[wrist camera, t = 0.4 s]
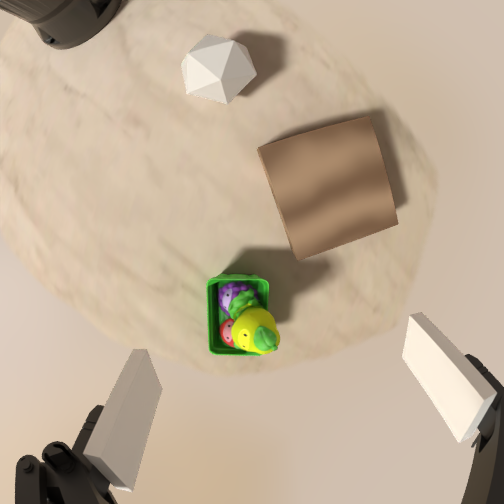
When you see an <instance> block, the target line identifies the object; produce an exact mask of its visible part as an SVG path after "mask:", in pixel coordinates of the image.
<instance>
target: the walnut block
mask: <svg viewBox="0 0 504 504" xmlns="http://www.w3.org/2000/svg"><path fill="white" fill-rule="evenodd" d="M257 151H258V154H259V157H260V160H261V162H262V165H263V168H264V171H265V173H266V176H267V179H268V182H269V185H270V188H271V190H272V193H273V196H274V199H275V202H276V205H277V208H278V210H279V213H280V216H281V219H282V222H283V225H284V228H285V231H286V234H287V237H288V240H289V243H290V246H291V249H292V251H293V253H294V255H295V257H296V259H297V261H299V260H302V259H305V258H307V257H310V256H313V255H316V254H319V253H321V252H324V251H327V250H330V249H333V248H335V247H338V246H341V245H344V244H346V243H349V242H352V241H355V240H357V239H360V238H363V237H366V236H368V235H371V234H374V233H376V232H379V231H382V230H384V229H387V228H390V227H392V226H395V225H398V219H397V214H396V210H395V205H394V201H393V196H392V192H391V188H390V184H389V180H388V176H387V172H386V168H385V165H384V161H383V158H382V154H381V151H380V147H379V144H378V141H377V138H376V135H375V132H374V128H373V125H372V123H371V120H370V117H369V116H366V117H362V118H358V119H354V120H350V121H346V122H342V123H338V124H334V125H330V126H326V127H323V128H319V129H316V130H312V131H309V132H305V133H302V134H298V135H295V136H292V137H289V138H285V139H282V140H279V141H276V142H273V143H270V144H267V145H264V146H261V147H258V149H257Z"/></svg>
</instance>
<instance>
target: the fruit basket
mask: <svg viewBox="0 0 504 504" xmlns="http://www.w3.org/2000/svg"><path fill="white" fill-rule="evenodd" d="M206 290H207V317H208V342H209V351H210V352H211V353H212V354H214V355H239V356H260V355H262V354H268V353H270V352H272V351H275V350H277V348H278V347H277V346H278V345H279V343H280V335H279V332H278V330H277V328H276V323H275V320H274V318H273V316H272V315H271V314H270V313H269V312H268V297H269V283H268V282H267V281H266V280H264V279H262V278H260V277H259V276H257V275H256V274H252V275H246V274H230V275H226V274H220V275H218V276H217V277H214V278H211V279H209V280H208V281H207V283H206Z"/></svg>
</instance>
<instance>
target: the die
mask: <svg viewBox="0 0 504 504" xmlns="http://www.w3.org/2000/svg"><path fill="white" fill-rule="evenodd" d="M181 68H182V73H183V78H184V83H185V89H186V94H190V95H194V96H198V97H202V98H206V99H209V100H213V101H217V102H220V103H224V104H227V105H228V104H229V103H230V102H231V101H232V100H233V99H234V97H235V96H236V95H237V94H238V93H239V92H240V91H241V90H242V89H243V88H244V87H245V86H246V85H247V84H248V83H249V82H250V81H251V80H252V79H253V78H254V77H255V76H256V75H257V73H256V70H255V68H254V65H253V63H252V60H251V57H250V55H249V52H248V50H247V47H246V46H244V45H242V44H240V43H238V42H236V41H234V40H230V39H226V38H222V37H218V36H213V35H208V34H207V35H206V36H205V37H204V38H203V39H202V40H201V41H200V42H199V43H197V44H196V45H195V46H194V47H193V48H192V49H191V50H190V51H189V52H188V53H187V55H186V57H185V58H184V60H183V62H182V64H181Z"/></svg>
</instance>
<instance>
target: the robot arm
mask: <svg viewBox="0 0 504 504" xmlns="http://www.w3.org/2000/svg"><path fill="white" fill-rule="evenodd" d="M120 3H121V0H0V9H1V10H4V11H6V12H8V13H10V14H13V15H14V16H17V17H19V18H21V19H23V20H25V21H27V22H29V23H31V24H32V25H33V27H34V28H35V30H36V32H37V33H38V35H39V36H40V38H41V39H42V41H43V42H44V43H45V44H47V45H49V46H51V47H53V48H55V49H69V48H72V47H75V46H78V45H80V44H82V43H83V42H85V41H87V40H88V39H90V38H91V37H93V36H94V35H95V34H97V33H98V32H99V31H100V30H101V29H102V28H103V27H104V26H105V25H106V24H107V23H108V22H109V21H110V19H111V18H112V17H113V15H114V14H115V12H116V11H117V9H118V7H119V5H120ZM402 358H403V359H404V361H405V362H406V364H407V365H408V366H409V368H410V369H411V371H412V372H413V374H414V375H415V377H416V378H417V379H418V381H419V382H420V384H421V385H422V387H423V388H424V390H425V391H426V393H427V394H428V396H429V397H430V399H431V400H432V402H433V403H434V405H435V406H436V408H437V409H438V411H439V413H440V414H441V415H442V417H443V419H444V420H445V422H446V423H447V425H448V427H449V428H450V430H451V431H452V433H453V435H454V436H455V438H456V439H457V441H458V443H460V442H462V441H464V440H466V439H468V438H470V437H472V435H473V434H474V432H475V431H476V429H477V428H478V429H479V431H480V433H479V435H478V436H477V438H476V439H475V441H474V442H473V444H472V446H471V447H474V445H475V444H476V443H477V444H476V449H475V454H474V459H473V464H472V468H471V472H470V476H469V479H468V483H467V487H466V490H465V493H464V496H463V499H462V503H461V504H504V387H503V386H502V385H501V384H500V382H499V381H498V380H497V379H496V378H495V377H494V376H493V375H492V374H491V373H490V372H488V369H487V368H486V367H484V366H483V364H482V363H481V362H480V361H479V360H478V359H477V358H475V357H474V356H472V355H470V354H467V355H465V356H464V355H463V354H462V353H461V352H460V351H459V350H458V349H457V348H456V346H455V345H454V344H453V343H452V342H451V341H450V340H449V339H448V338H447V337H446V336H445V335H444V334H443V333H442V332H441V331H440V330H439V329H438V328H437V327H436V326H435V325H434V324H433V323H432V322H431V321H430V320H429V319H428V318H427V317H426V316H425V315H424V314H423V313H422V312H420V313H416V314H412V315H410V316H409V323H408V328H407V335H406V340H405V345H404V350H403V355H402ZM161 392H162V387H161V384H160V382H159V380H158V377H157V375H156V372H155V369H154V367H153V364H152V362H151V359H150V356H149V354H148V351H147V349H133V351H132V353H131V355H130V357H129V359H128V360H127V362H126V364H125V366H124V368H123V370H122V372H121V374H120V376H119V378H118V380H117V382H116V384H115V386H114V388H113V390H112V392H111V394H110V396H109V398H108V400H107V402H106V404H105V406H101V405H97V406H96V407H95V408H94V409H93V410H92V411H91V412H90V413H89V415H88V417H87V419H86V423H84V425H83V427H82V429H81V431H80V433H79V435H78V437H77V439H76V441H75V444H74V446H73V448H72V450H71V449H70V448H69V447H68V446H67V445H66V444H65V443H63V442H58V441H56V442H52V443H50V444H48V445H47V446H46V447H45V449H44V450H43V453H42V459H43V460H44V461H45V463H44V462H40V461H39V460H38V459H37V458H36V457H34V456H32V455H25V456H23V457H22V458H20V459H19V461H18V462H17V465H16V478H15V504H117V502H116V500H115V498H114V497H113V495H112V493H111V491H110V490H109V489H108V488H109V485H110V483H111V484H112V485H113V486H114V487H115V488H116V489H120V490H125V491H130V492H133V489H134V486H135V481H136V478H137V474H138V471H139V467H140V463H141V459H142V456H143V452H144V449H145V445H146V442H147V438H148V435H149V431H150V428H151V424H152V421H153V418H154V414H155V411H156V408H157V405H158V401H159V398H160V395H161Z"/></svg>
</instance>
